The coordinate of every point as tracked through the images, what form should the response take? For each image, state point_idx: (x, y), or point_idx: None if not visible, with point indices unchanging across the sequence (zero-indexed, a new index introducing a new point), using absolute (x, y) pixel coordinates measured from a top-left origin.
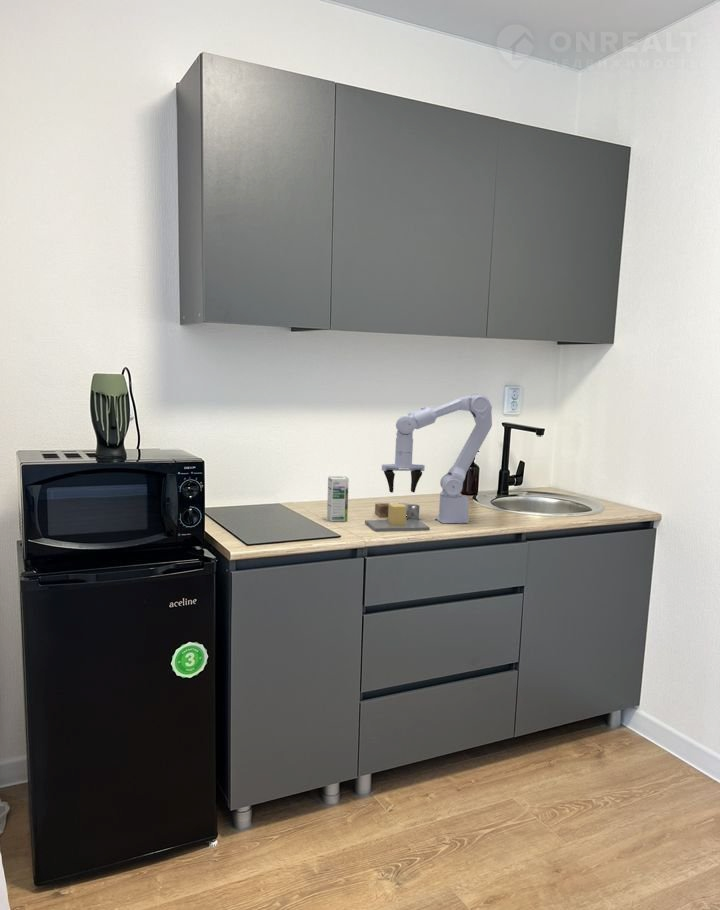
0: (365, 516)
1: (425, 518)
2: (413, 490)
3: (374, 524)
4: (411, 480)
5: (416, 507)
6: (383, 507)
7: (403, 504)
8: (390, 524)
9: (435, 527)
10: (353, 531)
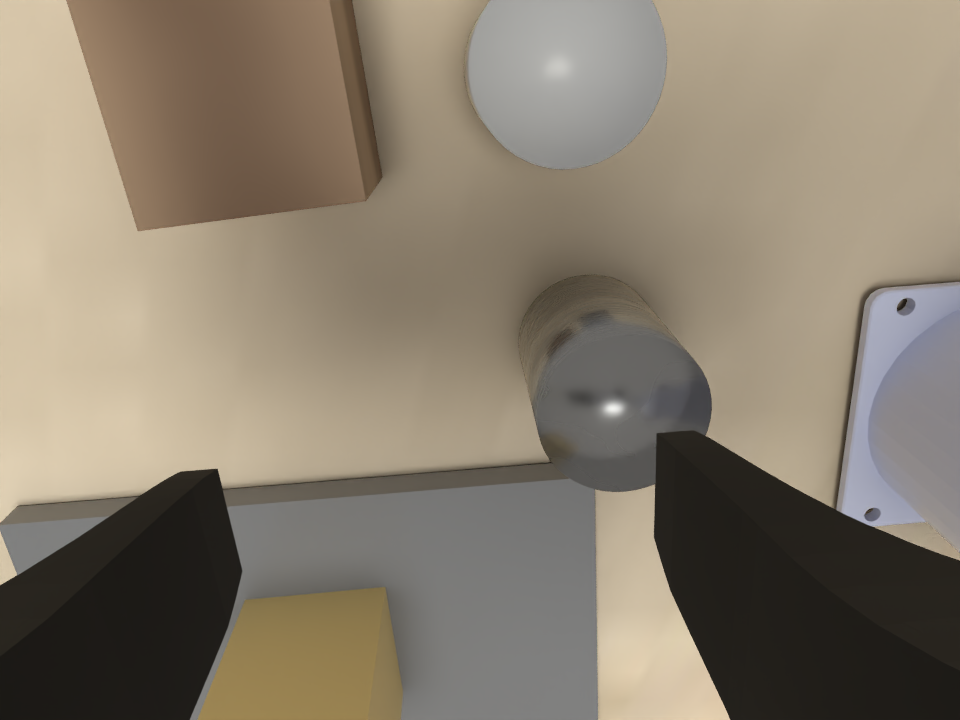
0: (7, 141)
1: (768, 262)
2: (671, 575)
3: None
4: (767, 541)
5: (635, 481)
6: (201, 219)
7: (552, 101)
8: None
9: (692, 642)
10: None
